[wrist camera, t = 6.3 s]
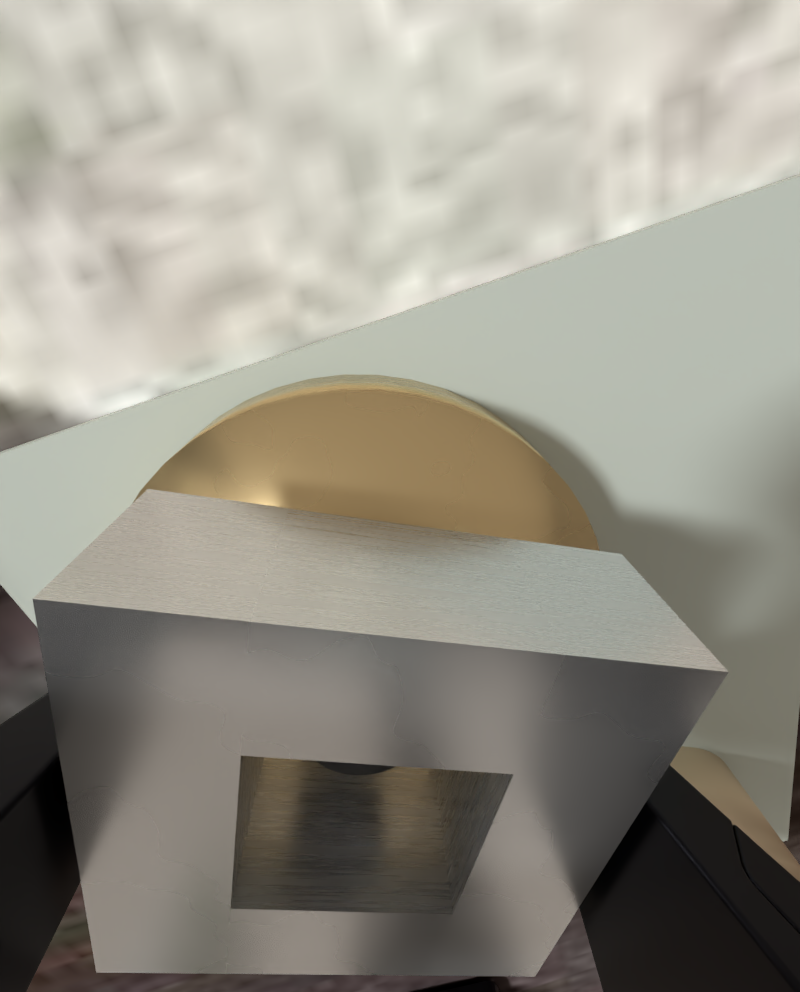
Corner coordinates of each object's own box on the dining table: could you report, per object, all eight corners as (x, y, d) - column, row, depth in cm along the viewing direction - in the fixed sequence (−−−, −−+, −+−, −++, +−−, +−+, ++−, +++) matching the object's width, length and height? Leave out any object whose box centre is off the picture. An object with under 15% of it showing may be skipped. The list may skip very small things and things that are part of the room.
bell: (600, 679, 13) (688, 834, 9) (259, 772, 13) (220, 947, 10) (532, 300, 8) (648, 317, 5) (41, 467, 9) (-161, 585, 6)
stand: (731, 822, 16) (966, 1180, 10) (588, 857, 16) (724, 1221, 10) (730, 728, 14) (1032, 1107, 8) (565, 771, 14) (721, 1163, 8)
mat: (779, 828, 17) (787, 840, 17) (317, 938, 18) (316, 951, 18) (826, 164, 8) (846, 160, 8) (-70, 476, 10) (-86, 483, 9)
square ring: (499, 826, 10) (534, 976, 8) (161, 808, 9) (96, 972, 7) (622, 553, 7) (729, 672, 5) (147, 488, 6) (32, 598, 4)
